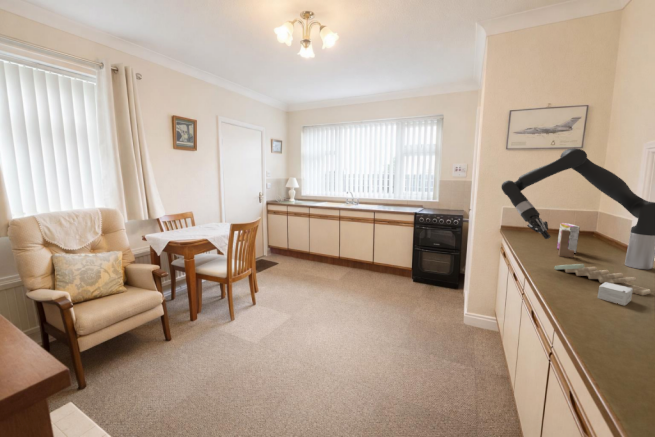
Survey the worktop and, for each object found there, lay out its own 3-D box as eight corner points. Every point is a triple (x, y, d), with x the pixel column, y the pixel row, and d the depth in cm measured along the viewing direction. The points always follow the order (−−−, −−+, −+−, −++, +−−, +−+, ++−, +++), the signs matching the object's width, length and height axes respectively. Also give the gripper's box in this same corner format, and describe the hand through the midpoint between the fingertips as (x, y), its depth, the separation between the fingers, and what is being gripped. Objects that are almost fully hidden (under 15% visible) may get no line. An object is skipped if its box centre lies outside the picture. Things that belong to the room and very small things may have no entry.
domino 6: (610, 282, 122) (642, 291, 112) (618, 280, 123) (650, 289, 114) (610, 286, 122) (642, 295, 112) (617, 284, 123) (649, 293, 114)
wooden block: (558, 256, 165) (562, 230, 162) (558, 254, 167) (561, 229, 165) (573, 257, 161) (577, 231, 159) (572, 256, 164) (576, 230, 162)
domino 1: (554, 266, 142) (576, 264, 133) (560, 265, 144) (583, 263, 135) (555, 269, 142) (577, 268, 133) (561, 268, 144) (584, 267, 134)
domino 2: (564, 269, 138) (588, 267, 129) (571, 268, 140) (595, 266, 130) (565, 272, 138) (589, 271, 128) (572, 271, 139) (597, 270, 130)
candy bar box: (556, 248, 181) (559, 222, 178) (565, 248, 180) (568, 223, 177) (566, 253, 170) (570, 226, 168) (576, 253, 169) (580, 226, 167)
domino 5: (598, 278, 126) (626, 278, 116) (606, 277, 127) (634, 276, 117) (599, 282, 125) (627, 282, 116) (607, 281, 127) (636, 281, 117)
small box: (603, 293, 114) (605, 281, 114) (631, 301, 108) (633, 288, 107) (596, 298, 110) (598, 285, 109) (625, 306, 104) (627, 292, 103)
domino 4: (587, 275, 129) (614, 274, 120) (595, 274, 131) (622, 273, 122) (588, 279, 129) (615, 278, 120) (596, 277, 131) (623, 277, 121)
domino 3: (575, 272, 134) (600, 271, 125) (582, 271, 135) (608, 269, 126) (576, 276, 133) (602, 275, 124) (583, 274, 135) (609, 273, 126)
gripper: (524, 207, 150) (545, 235, 141) (541, 206, 155) (563, 233, 146) (513, 215, 156) (533, 243, 147) (530, 214, 161) (550, 241, 151)
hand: (548, 238), depth 146 cm, fingers closed
